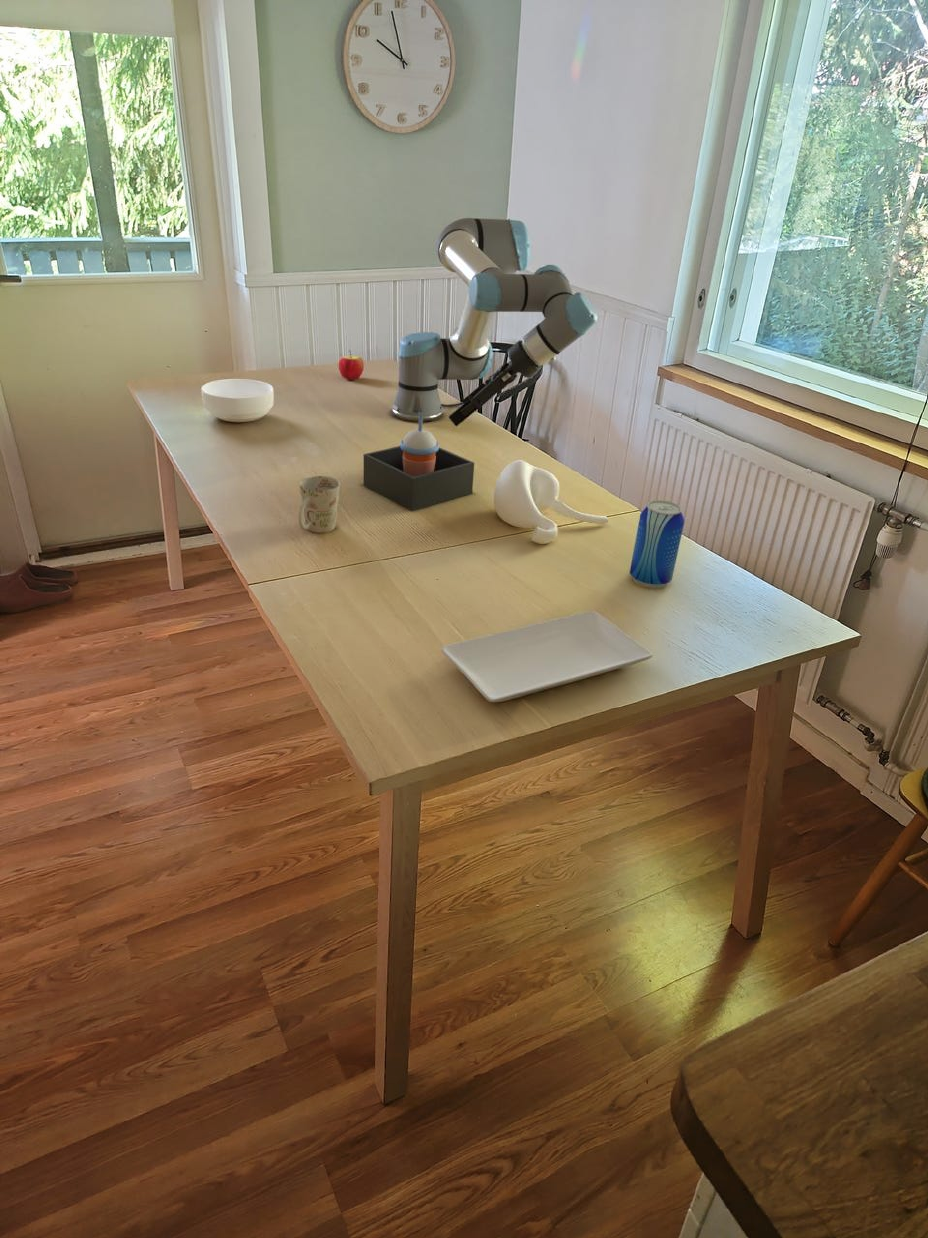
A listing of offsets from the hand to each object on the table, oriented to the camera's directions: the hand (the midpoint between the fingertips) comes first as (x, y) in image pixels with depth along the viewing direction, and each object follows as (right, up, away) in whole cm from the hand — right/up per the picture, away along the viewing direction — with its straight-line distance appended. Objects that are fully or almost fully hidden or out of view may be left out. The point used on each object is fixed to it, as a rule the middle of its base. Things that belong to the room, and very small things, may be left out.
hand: (459, 412), depth 190 cm
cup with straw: (-10, -15, +11) cm, 21 cm away
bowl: (-63, +11, +50) cm, 81 cm away
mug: (-30, -28, -12) cm, 43 cm away
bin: (-10, -16, +11) cm, 22 cm away
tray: (+14, -55, -52) cm, 77 cm away
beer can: (+38, -39, -22) cm, 59 cm away
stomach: (+18, -25, 0) cm, 31 cm away
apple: (-37, +34, +92) cm, 105 cm away
